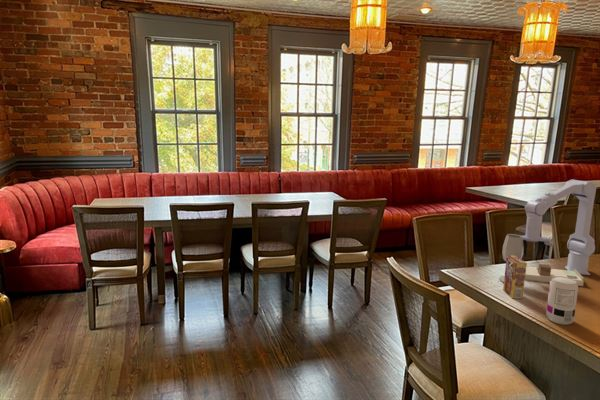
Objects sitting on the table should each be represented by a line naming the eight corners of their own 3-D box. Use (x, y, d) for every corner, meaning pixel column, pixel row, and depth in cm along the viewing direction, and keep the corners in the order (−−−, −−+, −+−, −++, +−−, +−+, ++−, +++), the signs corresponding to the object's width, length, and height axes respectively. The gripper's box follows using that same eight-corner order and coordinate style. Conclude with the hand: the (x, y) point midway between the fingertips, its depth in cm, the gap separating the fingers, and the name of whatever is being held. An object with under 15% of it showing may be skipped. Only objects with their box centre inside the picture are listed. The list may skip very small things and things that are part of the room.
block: (537, 272, 179) (538, 263, 178) (547, 273, 178) (548, 264, 177) (539, 275, 175) (540, 266, 175) (550, 276, 174) (551, 267, 173)
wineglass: (499, 283, 172) (504, 237, 169) (498, 276, 180) (502, 232, 177) (522, 286, 169) (527, 239, 165) (519, 279, 177) (524, 234, 173)
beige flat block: (518, 270, 188) (519, 263, 187) (574, 276, 180) (575, 269, 180) (523, 279, 177) (523, 272, 176) (583, 286, 169) (584, 278, 169)
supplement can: (540, 317, 142) (545, 277, 139) (555, 313, 145) (560, 274, 142) (563, 327, 134) (568, 286, 132) (578, 322, 138) (584, 282, 135)
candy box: (523, 299, 157) (527, 262, 154) (512, 298, 157) (516, 262, 154) (513, 290, 165) (516, 255, 163) (502, 289, 166) (505, 255, 163)
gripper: (516, 228, 173) (513, 257, 176) (554, 231, 169) (551, 261, 171) (514, 224, 180) (511, 253, 182) (550, 227, 175) (547, 256, 178)
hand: (530, 257), depth 177 cm, fingers open, 4 cm apart
